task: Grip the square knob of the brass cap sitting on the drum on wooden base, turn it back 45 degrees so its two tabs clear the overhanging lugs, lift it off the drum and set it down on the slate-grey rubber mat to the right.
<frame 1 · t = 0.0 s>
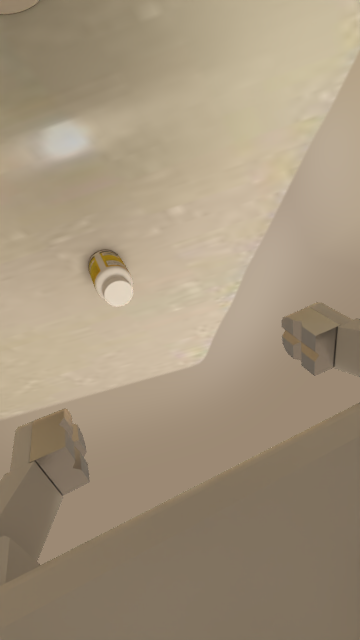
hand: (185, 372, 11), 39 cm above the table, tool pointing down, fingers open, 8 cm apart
supplement bottle: (105, 265, 49), on the table
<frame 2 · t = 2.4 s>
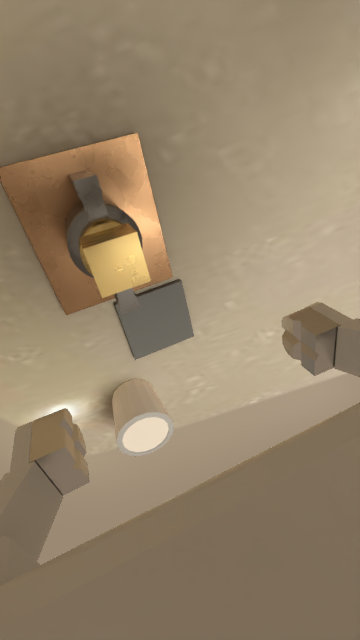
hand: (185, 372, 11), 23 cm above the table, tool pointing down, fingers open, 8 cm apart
white cylinder: (132, 395, 41), on the table
mat: (156, 319, 37), on the table
drum on wooden base: (97, 230, 30), on the table
cap: (106, 245, 25), point 6 cm above the table, touching drum on wooden base
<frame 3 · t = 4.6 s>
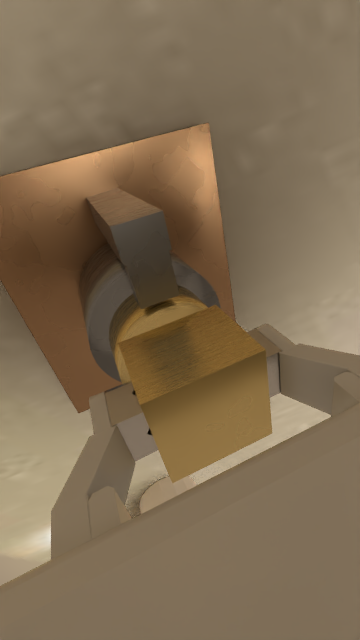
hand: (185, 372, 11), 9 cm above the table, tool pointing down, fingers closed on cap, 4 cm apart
white cylinder: (167, 493, 30), on the table
drum on wooden base: (130, 283, 18), on the table
cap: (159, 330, 13), point 6 cm above the table, touching gripper, drum on wooden base
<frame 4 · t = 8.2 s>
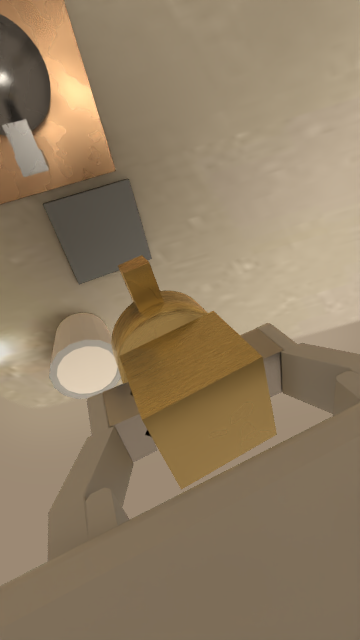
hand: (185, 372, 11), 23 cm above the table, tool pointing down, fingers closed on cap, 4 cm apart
white cylinder: (82, 333, 35), on the table
mat: (101, 232, 30), on the table
drum on wooden base: (8, 92, 23), on the table
cap: (161, 337, 14), point 20 cm above the table, touching gripper
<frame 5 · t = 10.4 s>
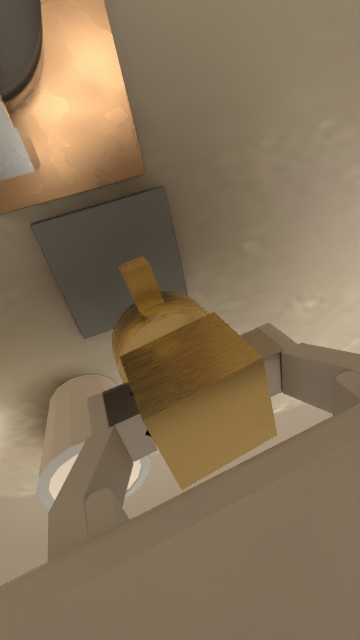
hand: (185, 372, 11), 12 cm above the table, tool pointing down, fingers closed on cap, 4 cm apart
white cylinder: (86, 401, 25), on the table
mat: (119, 265, 20), on the table
cap: (161, 337, 14), point 9 cm above the table, touching gripper
when the fingers open (6 cm above the table, at t = 12.0 s): cap drops 2 cm, resting on mat.
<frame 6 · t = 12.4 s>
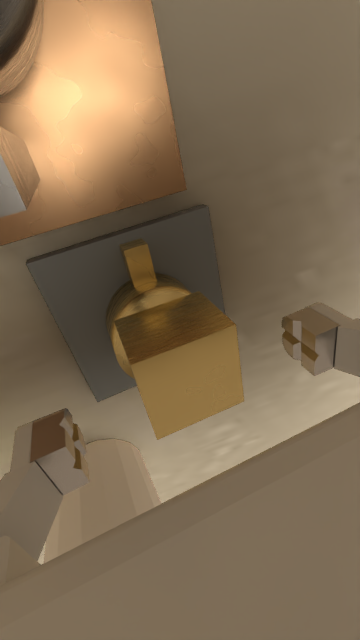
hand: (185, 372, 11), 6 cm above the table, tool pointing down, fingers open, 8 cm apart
white cylinder: (98, 468, 20), on the table
mat: (144, 308, 15), on the table
cap: (151, 316, 15), point 1 cm above the table, touching mat
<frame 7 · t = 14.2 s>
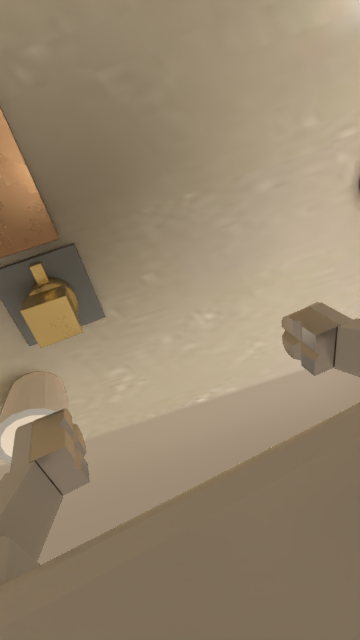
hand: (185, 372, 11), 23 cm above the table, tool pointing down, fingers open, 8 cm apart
white cylinder: (38, 391, 34), on the table
mat: (51, 295, 30), on the table
cap: (53, 299, 30), point 1 cm above the table, touching mat
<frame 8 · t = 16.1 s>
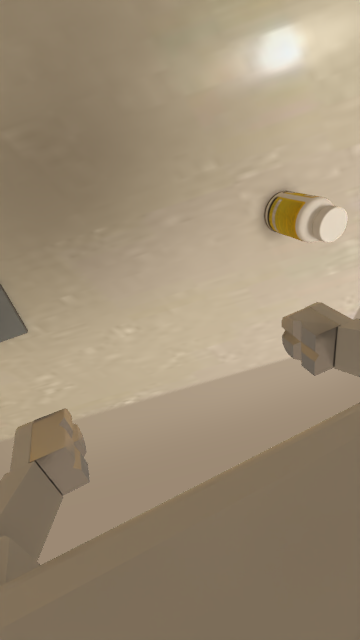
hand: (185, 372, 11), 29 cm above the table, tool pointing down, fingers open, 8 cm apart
supplement bottle: (279, 211, 43), on the table
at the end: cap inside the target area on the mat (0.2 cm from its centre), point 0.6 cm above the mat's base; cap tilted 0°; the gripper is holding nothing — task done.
